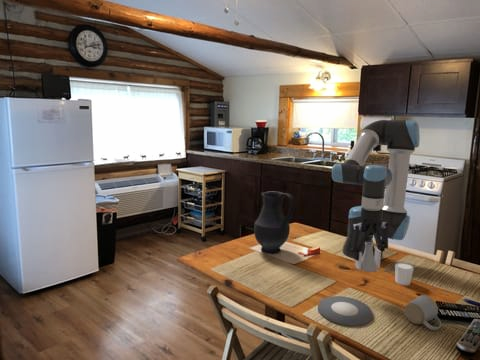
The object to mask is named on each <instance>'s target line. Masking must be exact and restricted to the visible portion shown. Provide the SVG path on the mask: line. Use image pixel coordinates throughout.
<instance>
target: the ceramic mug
mask: <svg viewBox="0 0 480 360" xmlns="http://www.w3.org/2000/svg"><path fill="white" fill-rule="evenodd" d="M438 311H439V309H438V306H437V304H436V303H435V301H434V300H433V299H432V298H431V297H429V296H428V295H427V296H426V295H422V294H421V295H419V296H417V297H416V298H414V299H412V300H411V301H409V302H408V303H407V304H406V305H405V307H404V314H405V317H406V318H407V319H408V321H409V322H410V323H412V324H414V325H424V326H425V327H426V328H428V329H429V330H431V331H439V330H440V329H441V327H442V321H441V319H440V318H439V317H438ZM433 319H434V321H435V322H436V324H437V326H433V325H431V324H430V323H429V321H432V320H433Z"/></svg>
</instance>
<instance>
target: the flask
mask: <svg viewBox="0 0 480 360" xmlns="http://www.w3.org/2000/svg"><path fill="white" fill-rule="evenodd" d="M373 245H374V242H373V243H371V242H365V251H364V254H363V256H362V260H361V270H360V271H361V272H366V273H376V272H377V270H378V267H377V266H376V262H375V259H374V257H375V256H374V255H373ZM374 246H375V245H374Z"/></svg>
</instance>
